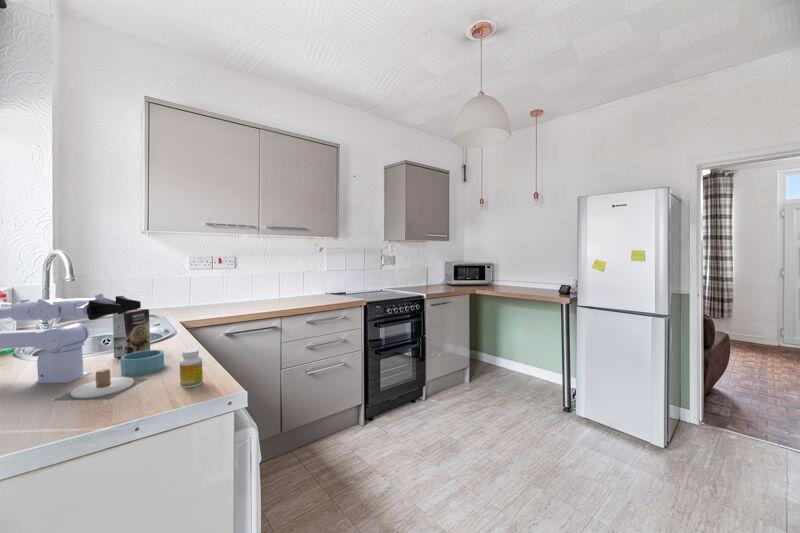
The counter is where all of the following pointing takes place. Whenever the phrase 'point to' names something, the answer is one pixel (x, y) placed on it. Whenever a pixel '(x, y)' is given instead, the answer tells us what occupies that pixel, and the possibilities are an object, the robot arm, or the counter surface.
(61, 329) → the robot arm
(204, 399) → the counter surface
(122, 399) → the counter surface
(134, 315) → the coffee box
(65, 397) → the mat
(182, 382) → the supplement bottle
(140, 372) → the bowl
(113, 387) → the lid
